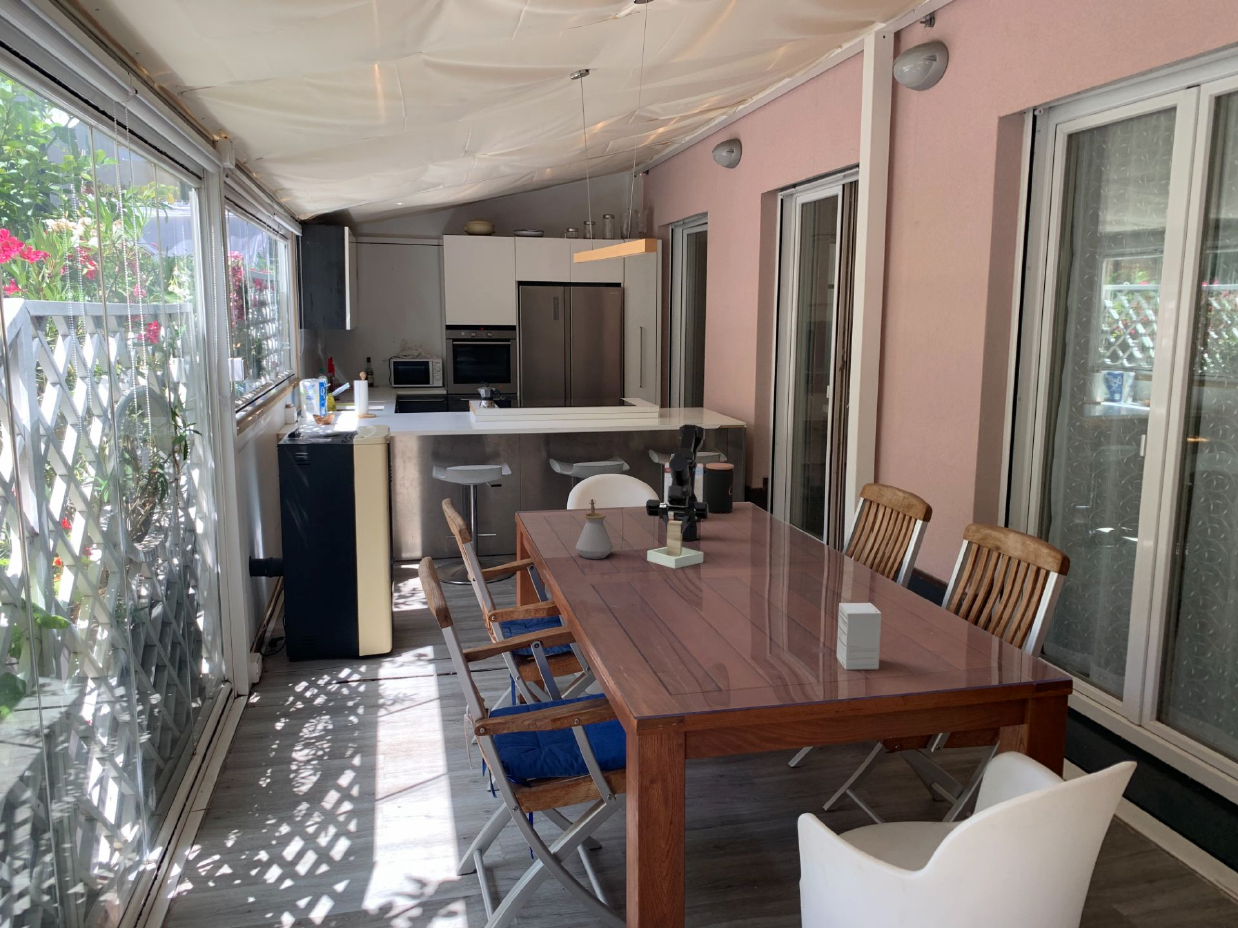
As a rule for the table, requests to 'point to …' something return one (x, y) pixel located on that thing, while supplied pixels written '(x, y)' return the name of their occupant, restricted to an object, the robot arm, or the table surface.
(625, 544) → the table surface
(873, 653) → the supplement box
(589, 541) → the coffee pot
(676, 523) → the handle block
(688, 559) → the tray
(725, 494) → the coffee jar
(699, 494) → the cracker box
